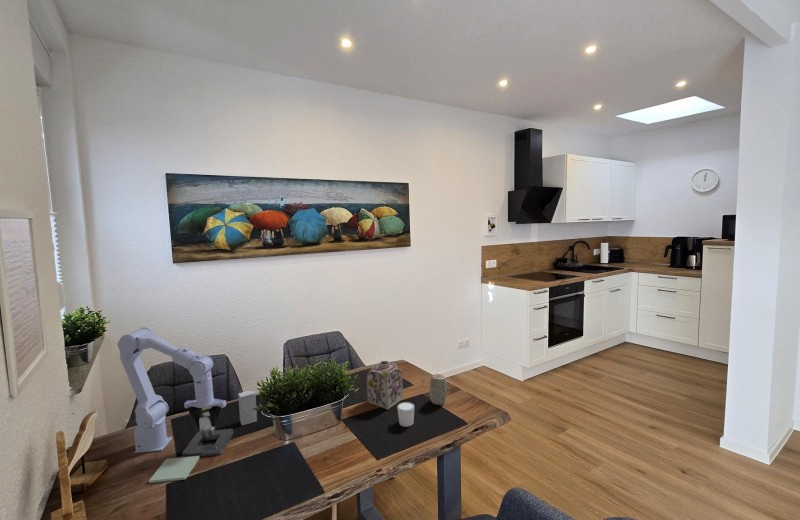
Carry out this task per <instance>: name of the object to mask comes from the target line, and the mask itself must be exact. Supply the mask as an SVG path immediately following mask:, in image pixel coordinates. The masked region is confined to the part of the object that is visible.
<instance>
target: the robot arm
mask: <svg viewBox="0 0 800 520" xmlns="http://www.w3.org/2000/svg"><path fill="white" fill-rule="evenodd" d="M116 346H117V347H118V350H119V359H120V362H121V364H122V366H123V369H124V371H125V373H126V376H127V378H128V381H129V384H130V386H131V388H132V390H133V393H134V395H135V398H136V400H137V405H136V407H135V409H134V413H135V414H134V415H135V422H136V424H137V425H136V427H135V428H134V432H133V436H134V437H133V439H134V445H135V446H134V447H135V450H134V454H138V453H146V452H147V453H149V452H159V451H163V450H164V449H165V447H166V446H168V444H169V443H170V442H171V441H172V439H173V436H168V435H167V424H166V417H167V416H166V415H167V414H168V413H169V410H170V409H169V408H170V407H169V405H168V403H167V402H166V401H165V400H164V398H163V396H161V395H159V394H156V393H155V391H154V388H153V385H152V383H151V381H150V378H149V375H148V373H147V371H146V368H145V366H144V363H143V361H142V358H141V355H142V353H143V352H144V350H147V349H153V350H155V351H157V352H159V353H162V354H164V355H166V356H170V357H171V358H172V362H173V363H175V364H177V365H179V366H181V367H183V368H185V369H187V370H188V371H189V374H190V375H191V376H192V379H193V383H194V392H195V393H194V394H195V399H193V400H186V401H185V402H184V403H183V404H184V409H188V408H190V409H189V410H188V414H189V415H190V416H191V418H192V419H194V422H195V424H196V426H197V428H200V426H199V415H200V414H202V413H203V408H210V409H208V412H209V414H210V416H211V421H212V427H215V428H216V426H217V424H218V419H219V415H220V412H221V410H222V409H223V408H225V407H226V406H227V400H225V399H218V398H214V388H213V377H212V368H213V367H214V360H213V358H212V357H211V356H209V355H208V354H207V355H205V354H204V355H201V354H197V353H195V352H194V351H192V350H190V348H189V347H185V346H182V347H177V346H175V345H174V344H172V343H171V342H169V341H167V340H166V339H164V338H162V337H161V336H158V335H157V333H156V331H155V330H152V329H151V328H149V327H146V326H145V327H141V328H139V329H137V330H134V331H133V332H130V333H127V334H124V335H122V336H120V339H119V340H118V342H117V343H116Z"/></svg>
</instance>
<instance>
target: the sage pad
mask: <svg viewBox="0 0 800 520" xmlns="http://www.w3.org/2000/svg"><path fill="white" fill-rule="evenodd" d="M200 457H201V456H192V457H183V456H181V457H175V458H174V457H173V458H165V460H164V461H163V463H162V464H161V465H160V466H159V468H157V470H156V471H155V472H154V474H152V476H151V478H149V480H148V484H152V483H153V484H154V483H164V482H173V481H174V482H175V481H182V480H186V479H187V477H189V474H190V473H191V471H192V470H194V469H193V468H194V467H195V465H197V462H199V460H200Z"/></svg>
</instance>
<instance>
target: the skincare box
mask: <svg viewBox="0 0 800 520" xmlns="http://www.w3.org/2000/svg"><path fill="white" fill-rule="evenodd" d="M237 395H238V409H239V422H240V424H241V426H245V425H249V424H252V423H255V422H258V418H257V417H258V416H257V400H256V392H255V390H254V389H251V390H246V391H243V392H239V393H238V394H237Z"/></svg>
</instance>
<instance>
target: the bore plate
mask: <svg viewBox="0 0 800 520" xmlns="http://www.w3.org/2000/svg"><path fill="white" fill-rule="evenodd" d="M215 430H216V432H215V433H214V434H213V435H211V436H208V437H202V436H201V435H200V431H197V432H196V434H195V435H193V436H194V437H193V438H192V439H191V440H190V442H189V443H188V444H187V445H186V447H185V448H184V450H183V451H182V452H181V453H182V457H192V456H199V457H207V456H216V455H222V454H223V452H224V451H225V449H226V447H227V446H228V444H229V442H230V440H231V438H232V436H233V435H234V429H233V428H228V429H227V428H225V429H215ZM207 441H209V442H210V441H215V443H214V444H204V445H203V443H204V442H207Z"/></svg>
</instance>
